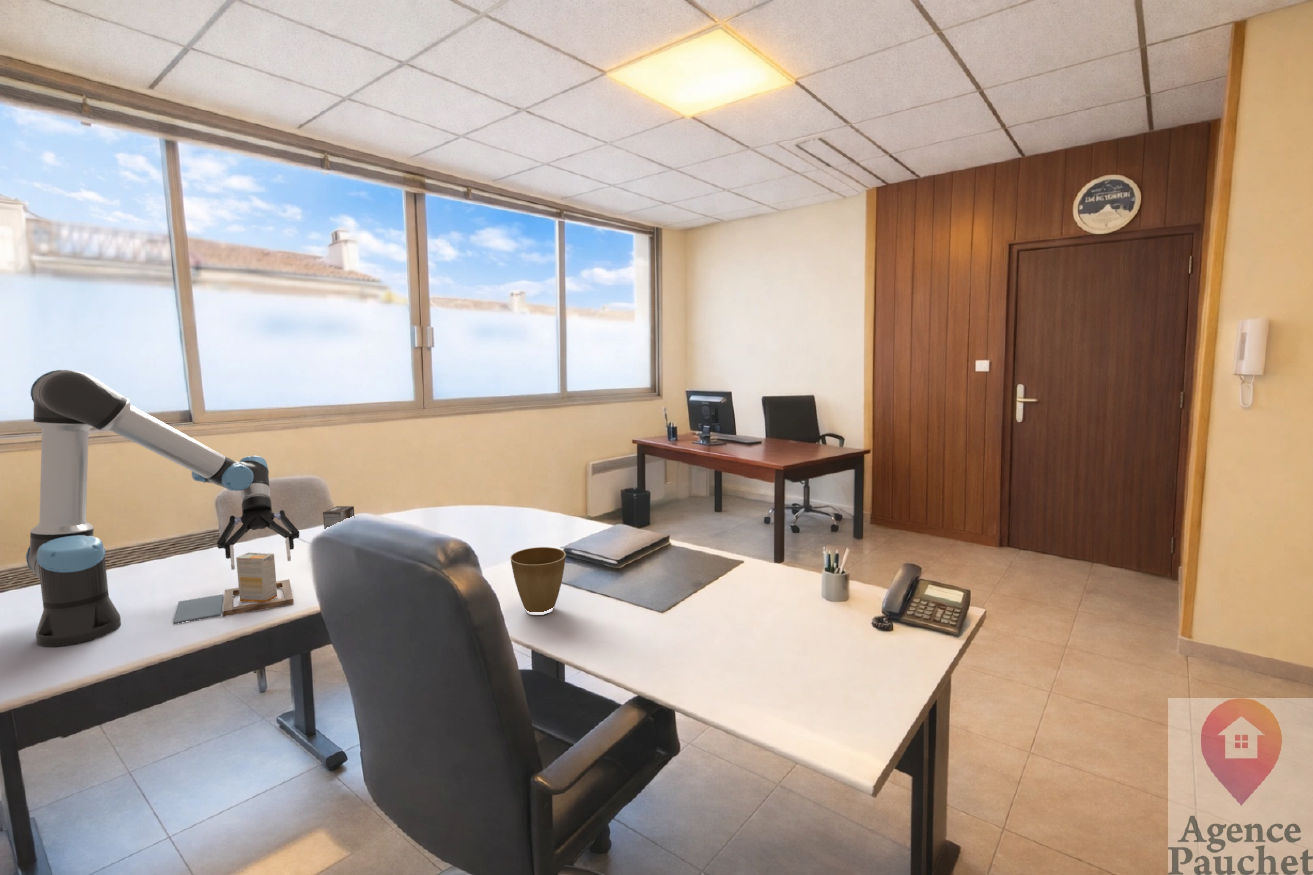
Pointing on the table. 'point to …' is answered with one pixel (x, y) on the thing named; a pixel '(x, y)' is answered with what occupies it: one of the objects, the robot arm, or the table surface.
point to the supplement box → (256, 577)
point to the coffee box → (337, 515)
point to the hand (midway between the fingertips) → (261, 563)
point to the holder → (231, 610)
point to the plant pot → (538, 576)
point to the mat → (198, 609)
